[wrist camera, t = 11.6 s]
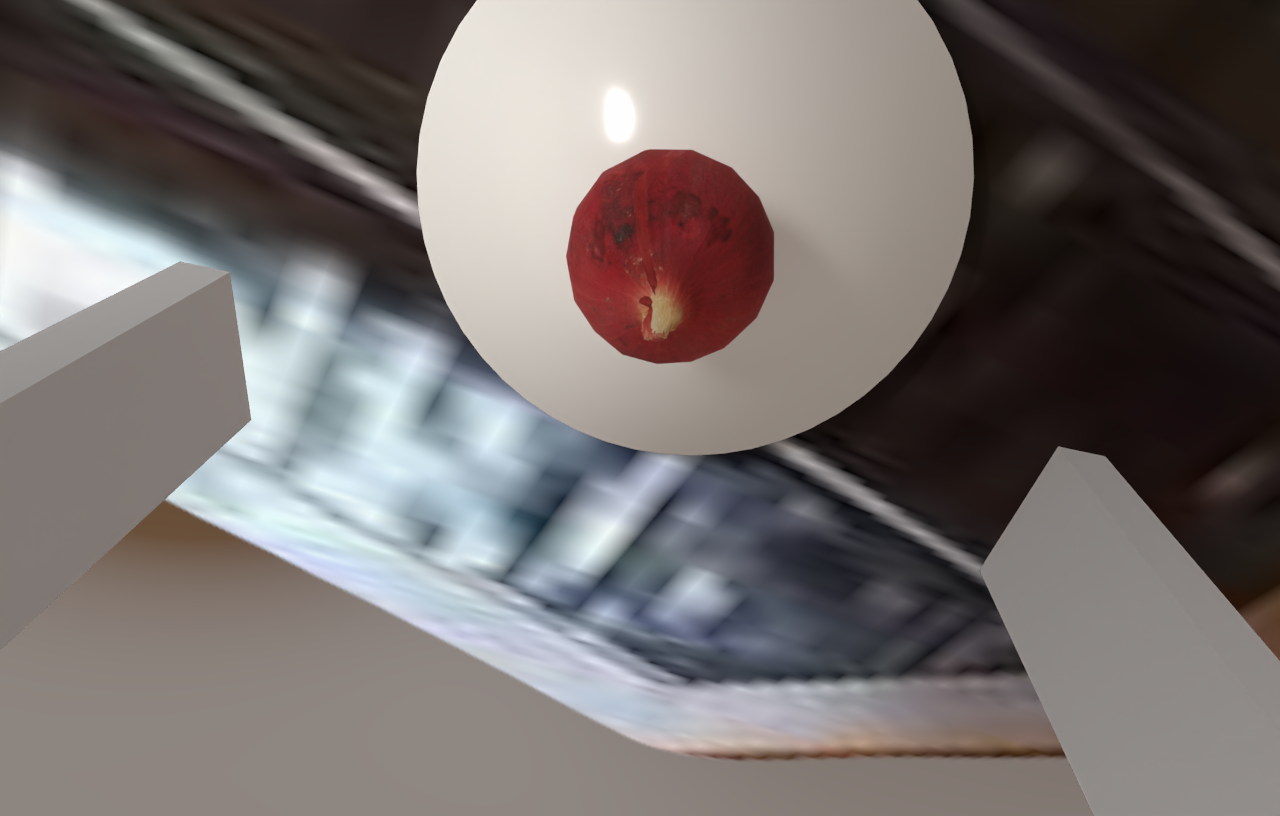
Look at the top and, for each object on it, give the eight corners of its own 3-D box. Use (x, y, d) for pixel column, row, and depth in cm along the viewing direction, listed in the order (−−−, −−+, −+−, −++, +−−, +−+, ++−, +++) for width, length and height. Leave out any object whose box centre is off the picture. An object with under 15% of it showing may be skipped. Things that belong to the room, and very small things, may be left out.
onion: (558, 184, 22) (484, 257, 15) (720, 95, 20) (720, 131, 13) (641, 333, 24) (609, 456, 17) (793, 265, 23) (825, 372, 16)
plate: (438, -169, 19) (422, -179, 18) (1071, -28, 19) (1091, -30, 18) (424, 387, 28) (413, 401, 27) (849, 479, 28) (853, 496, 27)
